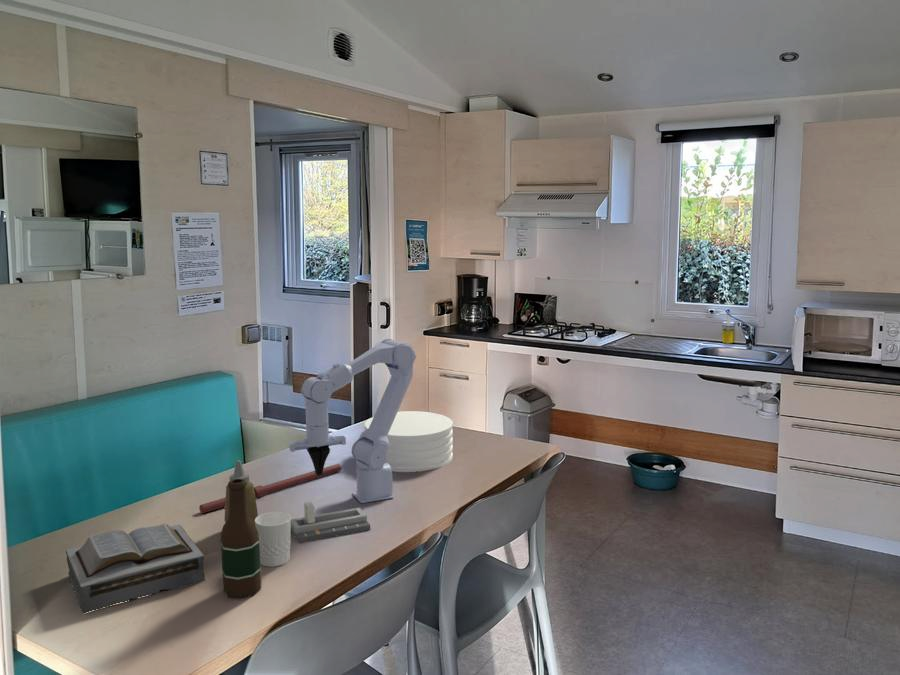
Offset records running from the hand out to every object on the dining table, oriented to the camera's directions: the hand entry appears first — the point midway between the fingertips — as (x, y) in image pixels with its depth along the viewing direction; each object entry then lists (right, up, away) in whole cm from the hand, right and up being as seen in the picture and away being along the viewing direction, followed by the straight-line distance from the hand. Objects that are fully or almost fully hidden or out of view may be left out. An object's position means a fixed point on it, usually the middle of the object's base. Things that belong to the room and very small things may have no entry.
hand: (318, 473), depth 197 cm
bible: (-33, -17, -35) cm, 51 cm away
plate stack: (+21, -3, +44) cm, 49 cm away
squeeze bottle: (-17, -12, -11) cm, 24 cm away
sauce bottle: (-9, -17, -40) cm, 45 cm away
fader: (0, -11, -12) cm, 16 cm away
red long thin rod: (-15, -8, +15) cm, 23 cm away
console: (+4, -12, -9) cm, 16 cm away
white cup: (-5, -15, -27) cm, 31 cm away
